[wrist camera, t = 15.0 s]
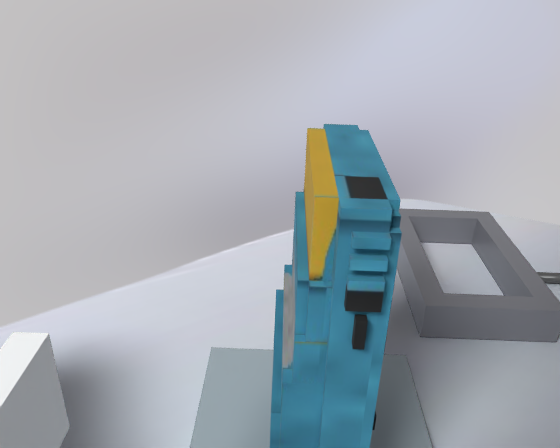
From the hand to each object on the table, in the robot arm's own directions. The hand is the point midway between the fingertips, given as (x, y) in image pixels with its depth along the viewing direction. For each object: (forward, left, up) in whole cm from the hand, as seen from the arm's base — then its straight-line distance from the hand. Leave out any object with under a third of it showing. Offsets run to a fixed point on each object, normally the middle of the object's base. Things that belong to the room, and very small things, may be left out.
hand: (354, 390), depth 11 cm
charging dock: (-17, -27, -14) cm, 34 cm away
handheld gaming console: (0, -10, -13) cm, 16 cm away
